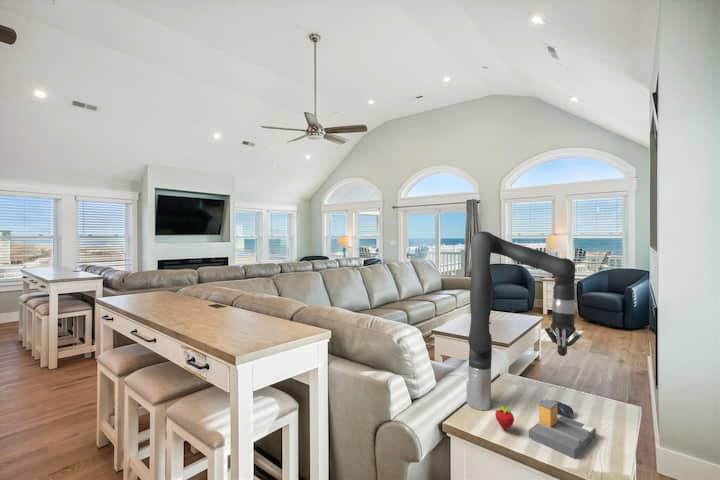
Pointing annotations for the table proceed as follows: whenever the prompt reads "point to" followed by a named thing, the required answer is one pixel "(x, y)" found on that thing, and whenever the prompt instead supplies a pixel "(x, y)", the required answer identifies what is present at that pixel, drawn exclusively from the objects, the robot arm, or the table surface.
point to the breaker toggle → (548, 412)
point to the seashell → (564, 409)
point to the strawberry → (504, 418)
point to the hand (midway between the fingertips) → (562, 355)
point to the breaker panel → (564, 435)
